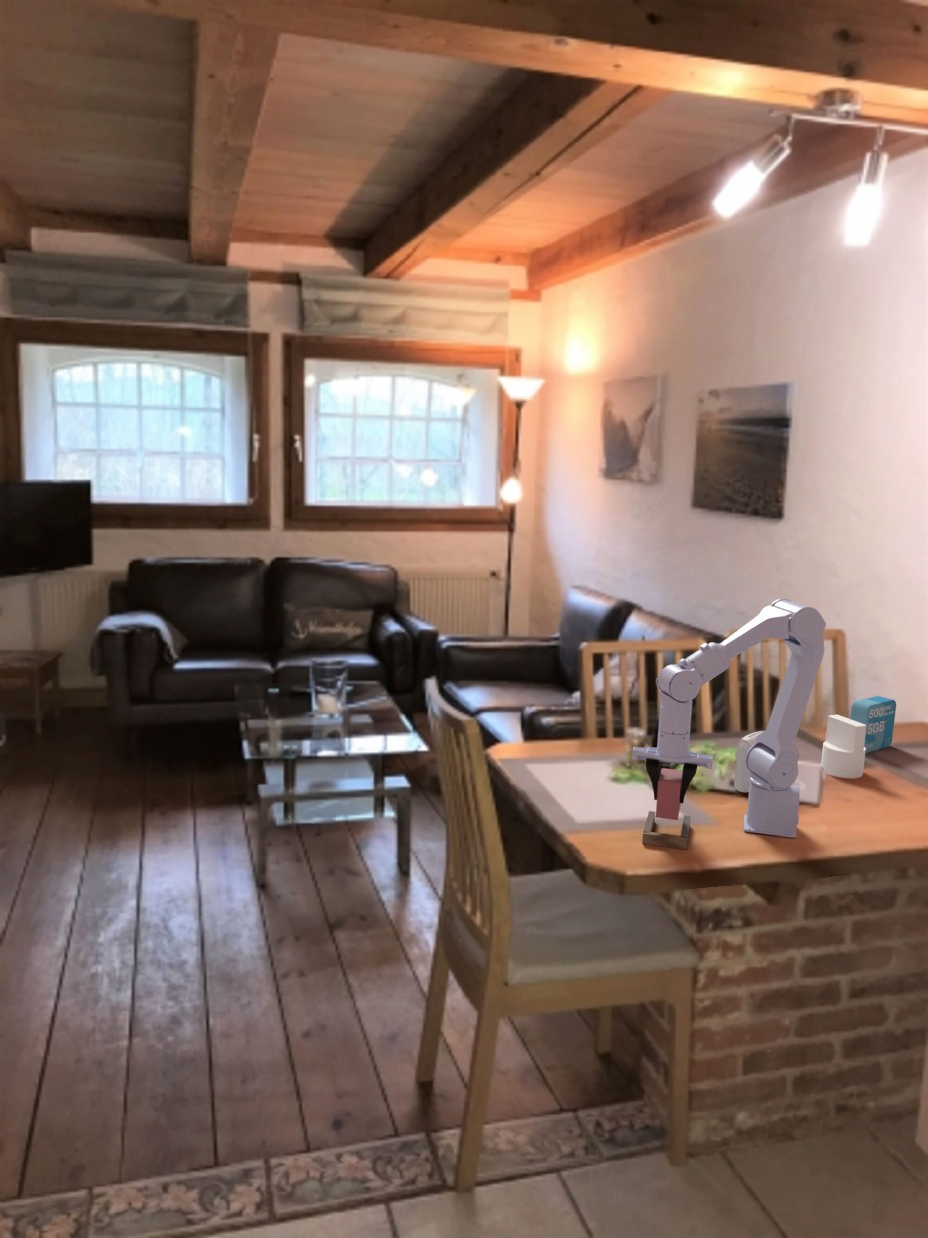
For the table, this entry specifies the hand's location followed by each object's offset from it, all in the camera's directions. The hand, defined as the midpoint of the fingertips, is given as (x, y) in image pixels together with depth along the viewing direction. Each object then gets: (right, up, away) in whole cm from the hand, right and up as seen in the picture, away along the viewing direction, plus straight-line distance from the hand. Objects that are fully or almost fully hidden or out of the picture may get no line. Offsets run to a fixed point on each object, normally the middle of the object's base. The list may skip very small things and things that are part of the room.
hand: (669, 799), depth 188 cm
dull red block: (0, -2, +1) cm, 3 cm away
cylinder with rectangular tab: (+47, -1, +39) cm, 61 cm away
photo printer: (+24, -3, +27) cm, 36 cm away
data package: (+61, +2, +57) cm, 83 cm away
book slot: (0, -7, +1) cm, 7 cm away
